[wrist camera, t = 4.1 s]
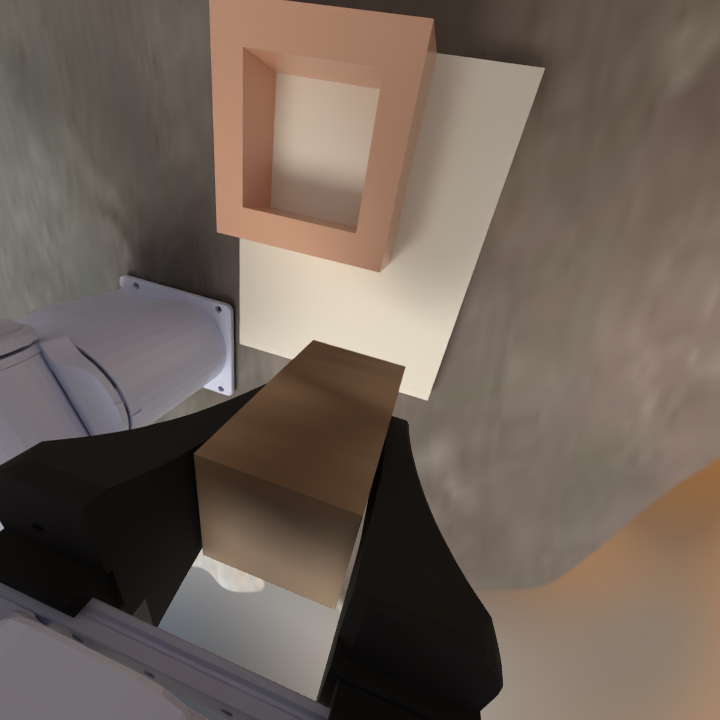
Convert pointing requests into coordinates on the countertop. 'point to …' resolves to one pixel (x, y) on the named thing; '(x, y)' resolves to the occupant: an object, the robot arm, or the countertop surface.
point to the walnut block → (298, 470)
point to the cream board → (416, 225)
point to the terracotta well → (324, 62)
